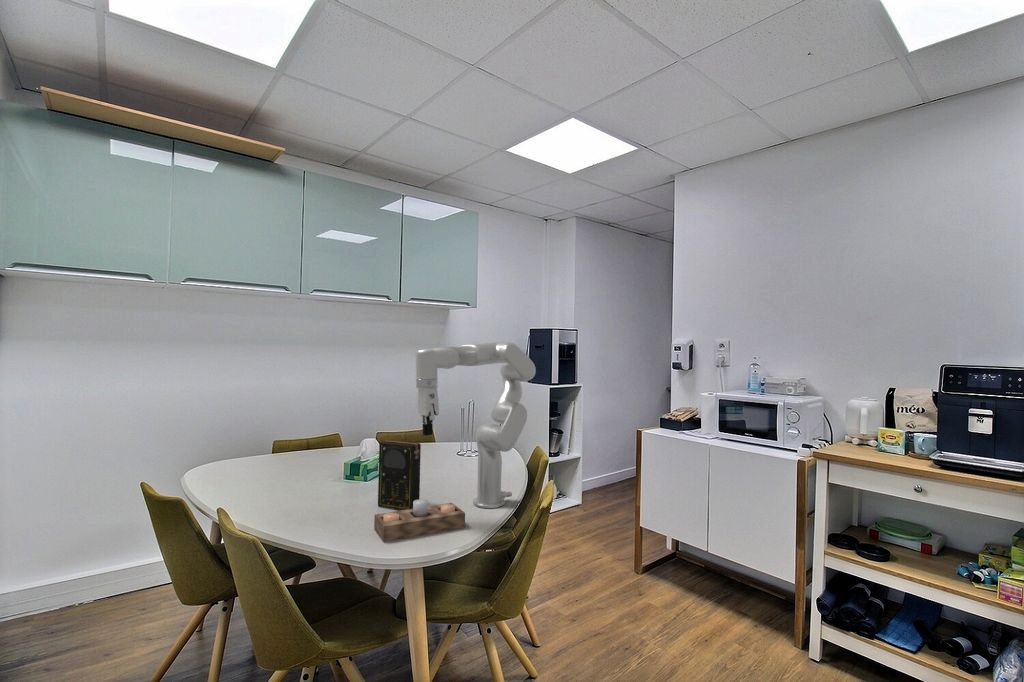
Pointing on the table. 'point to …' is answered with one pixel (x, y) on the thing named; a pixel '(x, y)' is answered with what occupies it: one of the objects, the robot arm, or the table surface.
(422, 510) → the button middle
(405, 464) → the voltmeter
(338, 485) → the table surface
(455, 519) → the wooden candle holder
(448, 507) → the button
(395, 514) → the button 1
